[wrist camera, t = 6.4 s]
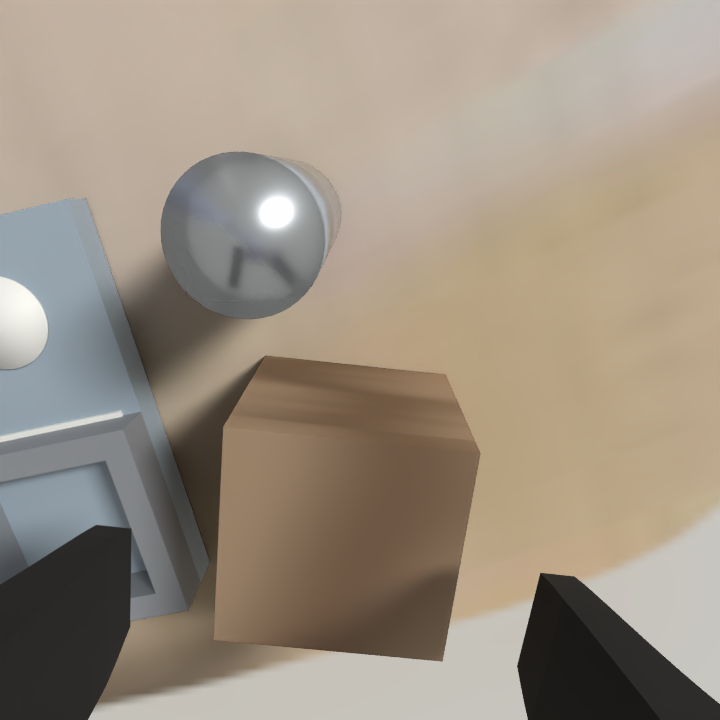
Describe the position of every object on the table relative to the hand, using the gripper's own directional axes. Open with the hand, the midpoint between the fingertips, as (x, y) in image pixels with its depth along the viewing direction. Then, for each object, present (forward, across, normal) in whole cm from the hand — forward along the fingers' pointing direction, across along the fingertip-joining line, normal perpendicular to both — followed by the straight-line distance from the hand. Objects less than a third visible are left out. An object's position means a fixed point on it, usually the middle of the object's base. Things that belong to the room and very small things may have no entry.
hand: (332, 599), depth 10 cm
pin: (+7, +2, -6) cm, 9 cm away
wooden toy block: (+7, 0, 0) cm, 7 cm away
